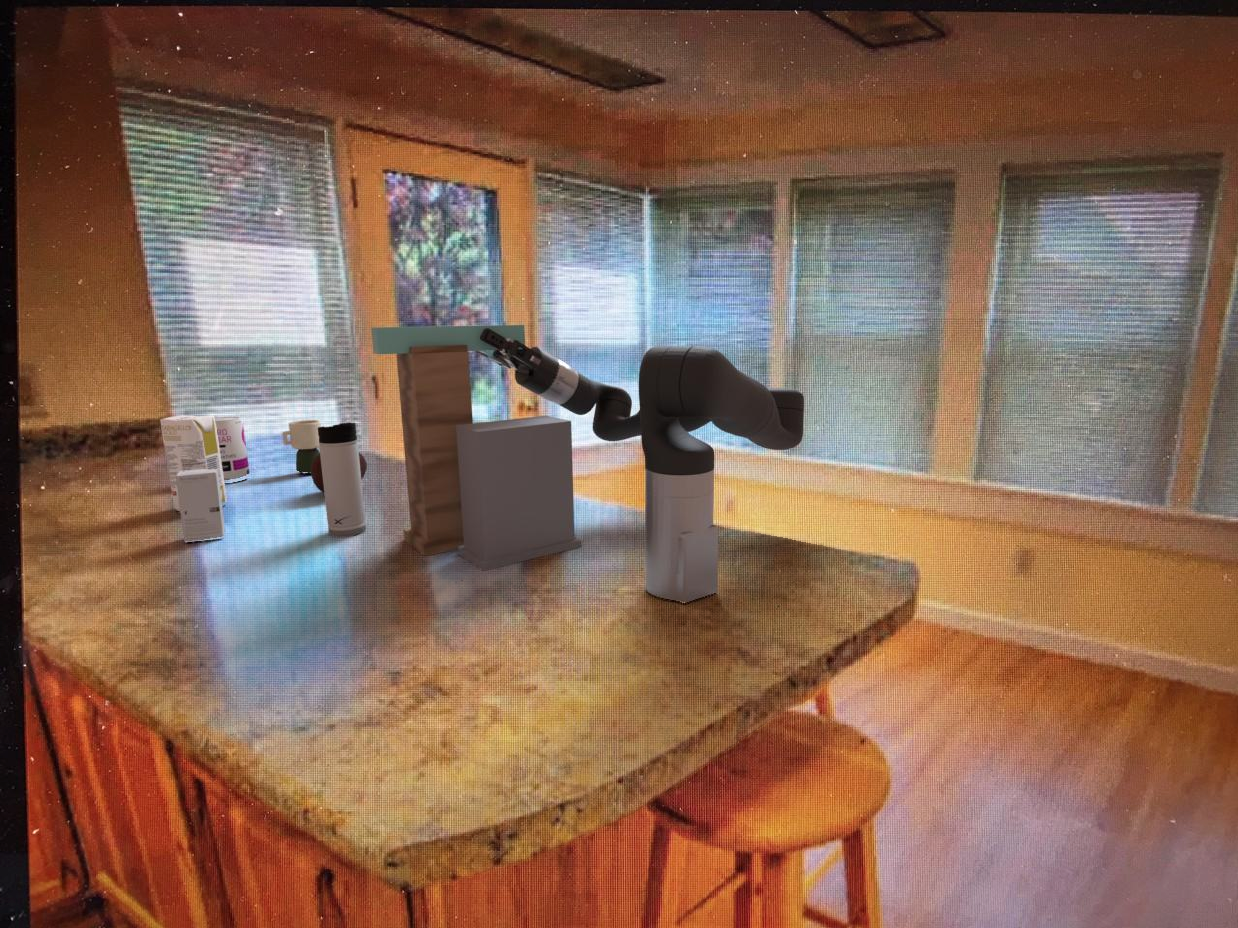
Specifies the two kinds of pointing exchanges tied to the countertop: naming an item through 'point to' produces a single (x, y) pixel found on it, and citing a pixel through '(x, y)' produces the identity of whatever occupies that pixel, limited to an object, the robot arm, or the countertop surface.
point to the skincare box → (200, 504)
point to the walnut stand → (434, 442)
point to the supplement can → (232, 447)
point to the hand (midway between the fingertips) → (471, 332)
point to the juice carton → (191, 448)
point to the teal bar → (439, 337)
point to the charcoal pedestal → (516, 490)
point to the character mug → (303, 442)
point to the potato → (317, 471)
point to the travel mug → (342, 479)
